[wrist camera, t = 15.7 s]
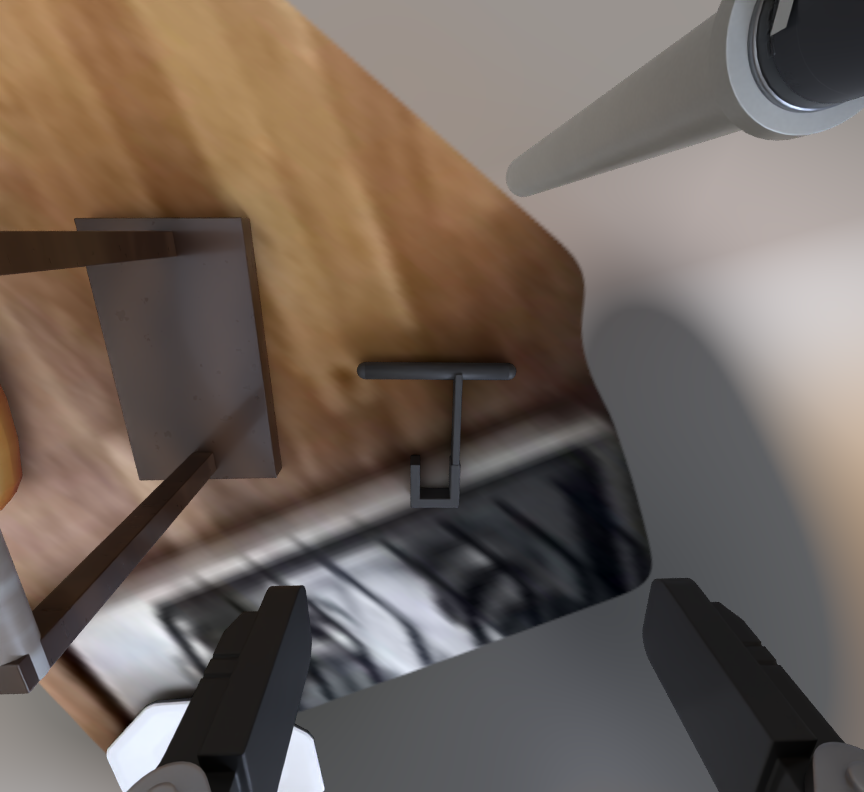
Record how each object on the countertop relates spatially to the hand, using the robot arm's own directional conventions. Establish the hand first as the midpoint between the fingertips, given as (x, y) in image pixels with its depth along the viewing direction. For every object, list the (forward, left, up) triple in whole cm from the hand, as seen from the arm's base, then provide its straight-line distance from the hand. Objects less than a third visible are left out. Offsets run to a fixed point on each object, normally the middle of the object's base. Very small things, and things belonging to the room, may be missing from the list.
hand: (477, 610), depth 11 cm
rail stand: (+17, 0, -24) cm, 29 cm away
